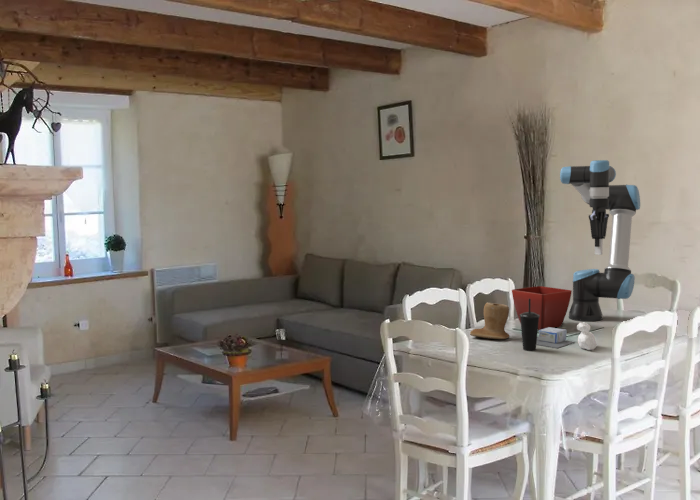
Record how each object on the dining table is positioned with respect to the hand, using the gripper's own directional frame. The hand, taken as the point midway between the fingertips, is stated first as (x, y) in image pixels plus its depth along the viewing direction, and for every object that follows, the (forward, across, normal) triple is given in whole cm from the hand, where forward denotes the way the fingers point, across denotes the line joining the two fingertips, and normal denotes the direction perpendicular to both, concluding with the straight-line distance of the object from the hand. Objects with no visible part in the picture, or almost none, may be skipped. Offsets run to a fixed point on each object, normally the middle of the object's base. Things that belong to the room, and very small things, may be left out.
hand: (598, 254), depth 288 cm
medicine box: (+32, +17, -8) cm, 37 cm away
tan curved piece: (+35, +33, -30) cm, 57 cm away
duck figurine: (+35, +23, +8) cm, 43 cm away
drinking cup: (+35, +40, -7) cm, 53 cm away
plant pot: (+35, 0, -27) cm, 44 cm away
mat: (+34, +25, -8) cm, 43 cm away
